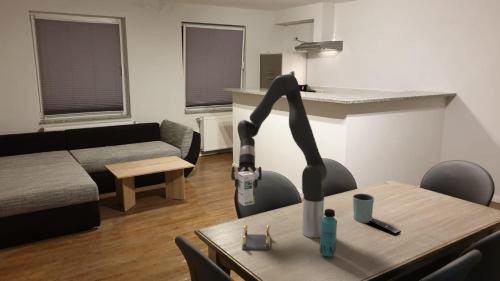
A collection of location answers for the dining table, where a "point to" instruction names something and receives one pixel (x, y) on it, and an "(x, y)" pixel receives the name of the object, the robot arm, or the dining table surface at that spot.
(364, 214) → the teal cup
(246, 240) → the chassis plate
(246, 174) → the syrup box
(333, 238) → the beverage bottle
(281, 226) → the dining table surface
